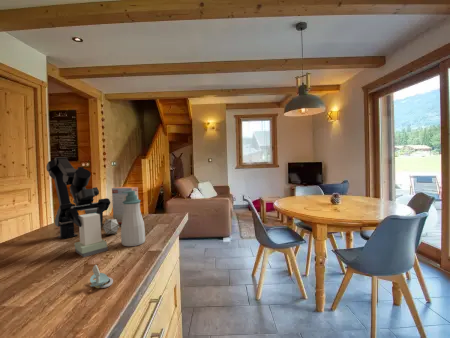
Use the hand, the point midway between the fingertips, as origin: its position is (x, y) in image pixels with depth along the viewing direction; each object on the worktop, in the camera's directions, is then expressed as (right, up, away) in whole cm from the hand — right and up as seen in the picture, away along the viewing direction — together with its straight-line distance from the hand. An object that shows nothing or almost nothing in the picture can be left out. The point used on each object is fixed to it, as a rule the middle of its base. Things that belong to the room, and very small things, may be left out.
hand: (91, 224), depth 99 cm
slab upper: (-1, -10, +1) cm, 10 cm away
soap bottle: (+13, -11, +9) cm, 19 cm away
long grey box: (-22, -10, +44) cm, 50 cm away
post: (-1, -7, +1) cm, 8 cm away
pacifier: (+17, -12, -26) cm, 34 cm away
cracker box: (-4, -10, +45) cm, 46 cm away
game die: (-3, -10, +23) cm, 26 cm away
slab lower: (-1, -12, +1) cm, 12 cm away
